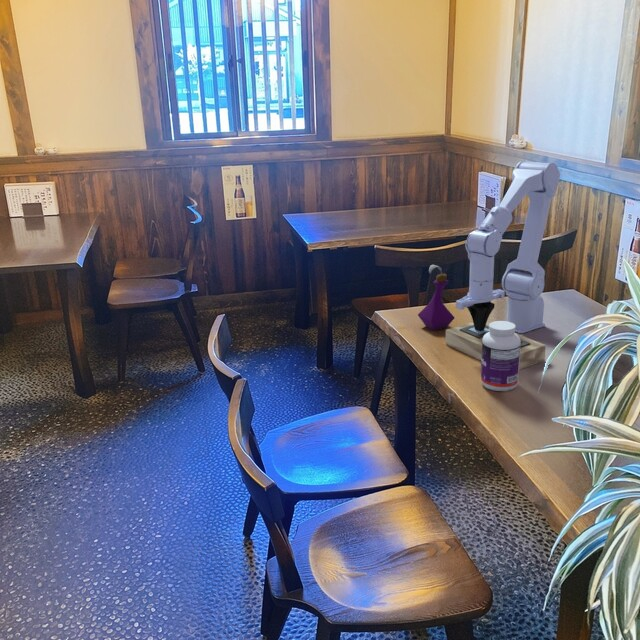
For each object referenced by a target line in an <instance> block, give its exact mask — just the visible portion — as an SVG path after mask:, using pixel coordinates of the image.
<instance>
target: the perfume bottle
mask: <svg viewBox="0 0 640 640" xmlns="http://www.w3.org/2000/svg"><path fill="white" fill-rule="evenodd" d="M436 268H437V269H438V270H439V271H440V273H438V274H437V275H436V277H435V278H436V279H435V280H434V281H433V284H434V285H435V291H434V294H433V296H432V298H431V300H430V301H429V303H428V304H427V305H426V306H425V307H424V308H423V309H421V311H419V312H418V314H417V316H418V318H419V319H420V321H421V322H422V323H423V324H424V325H425V327H427V328H429V330H432V331H438V330H439V331H440V330H443V329H447V328H448V326H449V325H450V324H451V323H452V322H453V321H454V320H455V316H454V315H453V313H451V311H450V310H449V309H448V308H447V307H446V305H445V304H444V303H443V299H442V295H443V290H444V288H445V287H446V285H448V284H450V283H449V280H447V278H448V275H447V274H446V273H443V272H442V269H443V268H442V267H440V266H439V265H435V264H431V265H429V268H428V273H429V274H431V273H432V271H433V270H434V269H436Z"/></svg>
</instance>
